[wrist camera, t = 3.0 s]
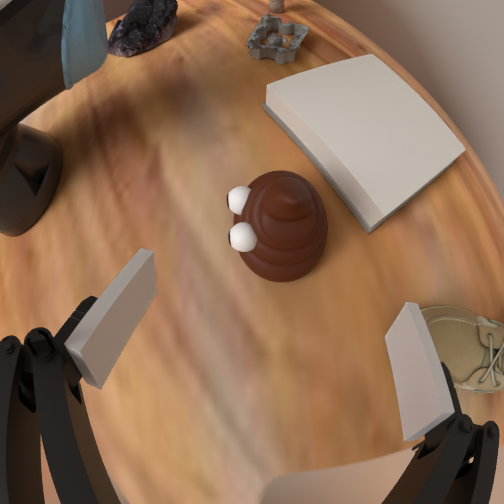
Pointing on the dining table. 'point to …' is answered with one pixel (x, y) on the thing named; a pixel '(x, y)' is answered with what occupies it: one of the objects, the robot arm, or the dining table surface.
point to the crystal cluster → (143, 27)
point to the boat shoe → (468, 347)
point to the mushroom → (276, 6)
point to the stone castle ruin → (276, 39)
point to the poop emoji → (278, 225)
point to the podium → (364, 133)
